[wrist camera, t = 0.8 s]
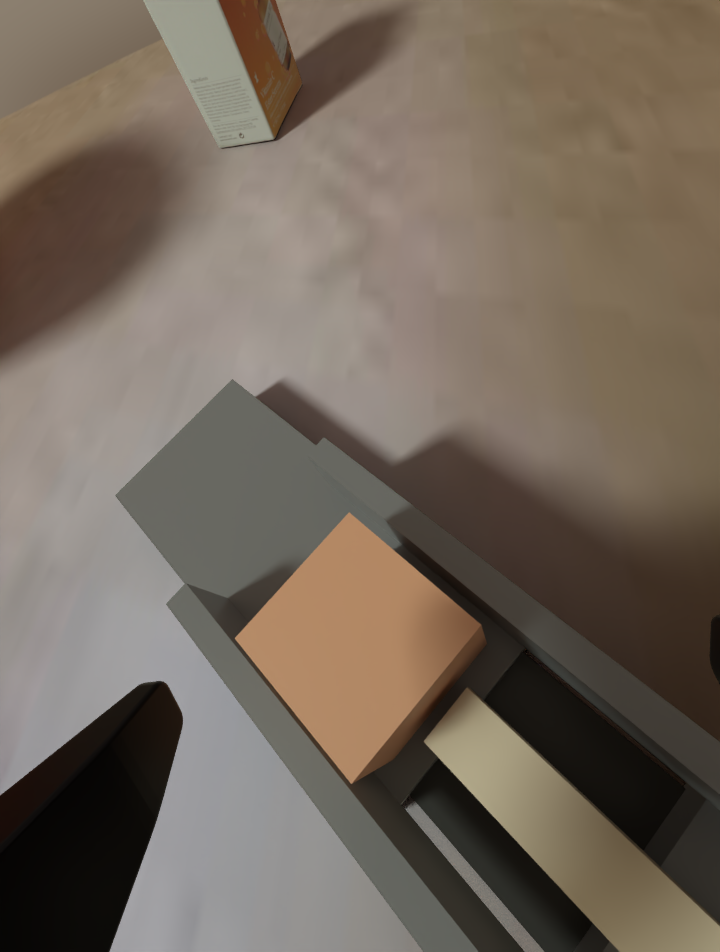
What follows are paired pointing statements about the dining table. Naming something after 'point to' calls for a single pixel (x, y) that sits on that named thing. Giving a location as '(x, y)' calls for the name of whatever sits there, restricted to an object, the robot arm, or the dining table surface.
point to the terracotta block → (361, 647)
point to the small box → (232, 63)
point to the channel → (489, 675)
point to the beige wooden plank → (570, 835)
